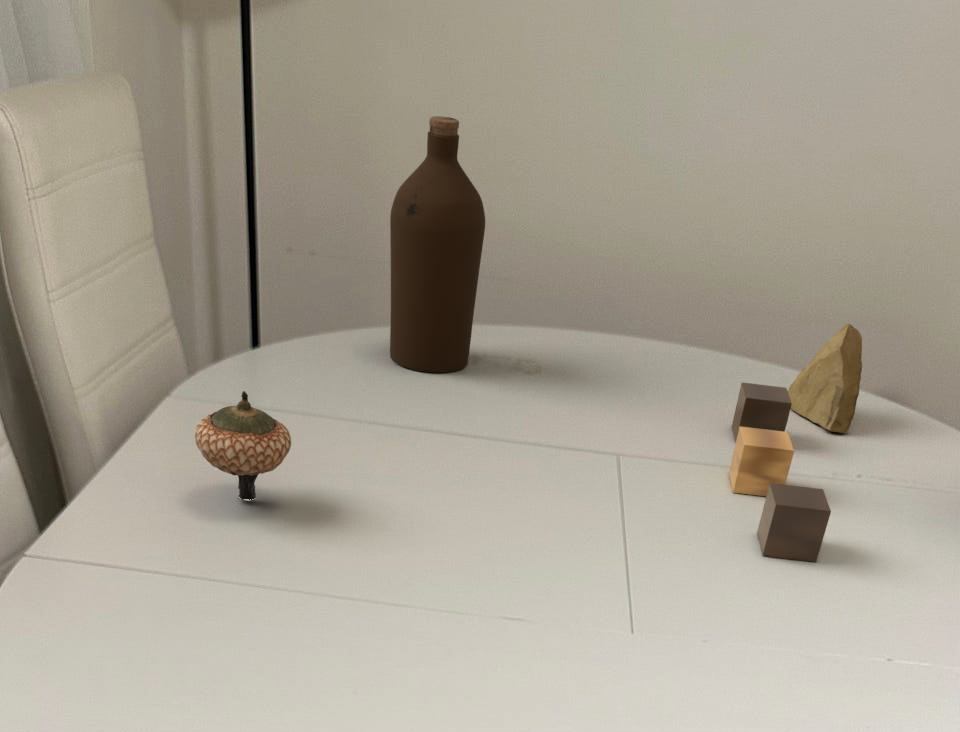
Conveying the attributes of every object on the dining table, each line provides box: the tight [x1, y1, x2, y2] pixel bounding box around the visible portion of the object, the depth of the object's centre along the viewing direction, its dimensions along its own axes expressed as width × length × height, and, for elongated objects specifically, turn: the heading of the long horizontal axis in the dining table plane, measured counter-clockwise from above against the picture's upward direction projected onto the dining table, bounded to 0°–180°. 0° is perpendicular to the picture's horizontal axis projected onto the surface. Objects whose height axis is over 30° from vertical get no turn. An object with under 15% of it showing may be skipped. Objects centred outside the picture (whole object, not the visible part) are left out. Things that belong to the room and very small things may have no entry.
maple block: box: [728, 426, 795, 497], centre depth 122 cm, size 5×5×5 cm
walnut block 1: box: [731, 382, 792, 444], centre depth 133 cm, size 5×5×5 cm
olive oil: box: [389, 115, 486, 373], centre depth 136 cm, size 11×11×25 cm
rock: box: [787, 323, 863, 434], centre depth 139 cm, size 11×9×10 cm
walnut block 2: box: [756, 483, 832, 563], centre depth 111 cm, size 5×5×5 cm
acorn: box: [194, 390, 292, 501], centre depth 106 cm, size 8×8×10 cm
